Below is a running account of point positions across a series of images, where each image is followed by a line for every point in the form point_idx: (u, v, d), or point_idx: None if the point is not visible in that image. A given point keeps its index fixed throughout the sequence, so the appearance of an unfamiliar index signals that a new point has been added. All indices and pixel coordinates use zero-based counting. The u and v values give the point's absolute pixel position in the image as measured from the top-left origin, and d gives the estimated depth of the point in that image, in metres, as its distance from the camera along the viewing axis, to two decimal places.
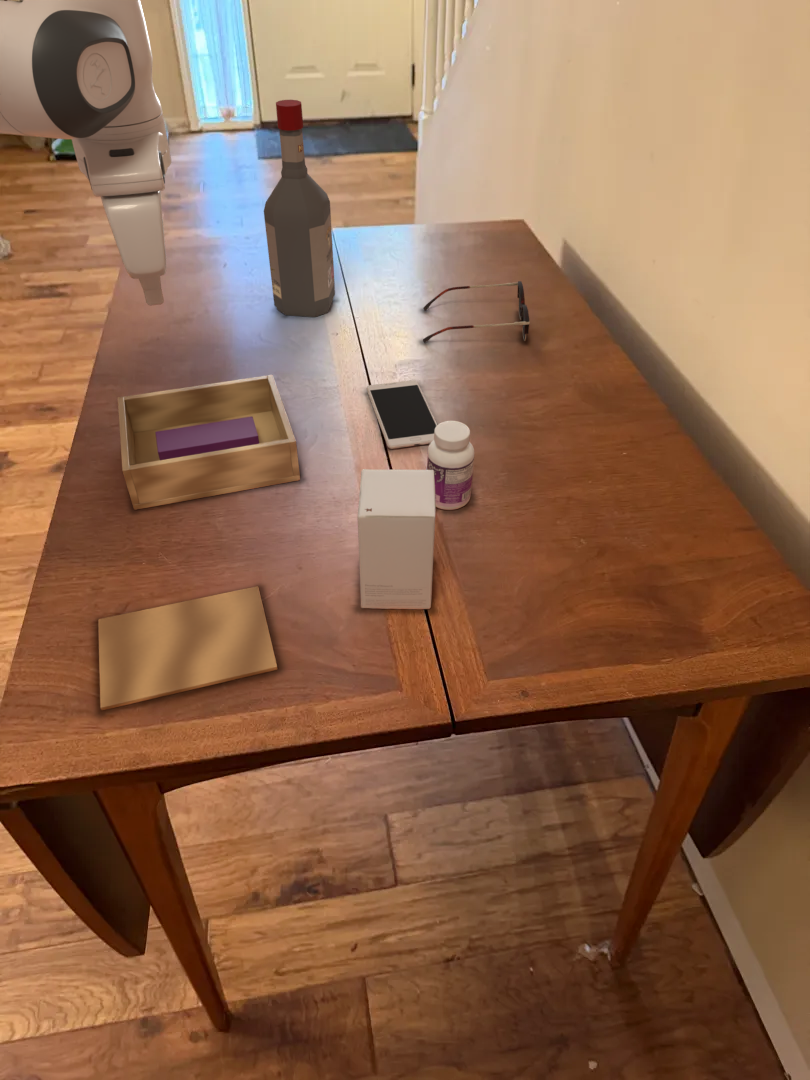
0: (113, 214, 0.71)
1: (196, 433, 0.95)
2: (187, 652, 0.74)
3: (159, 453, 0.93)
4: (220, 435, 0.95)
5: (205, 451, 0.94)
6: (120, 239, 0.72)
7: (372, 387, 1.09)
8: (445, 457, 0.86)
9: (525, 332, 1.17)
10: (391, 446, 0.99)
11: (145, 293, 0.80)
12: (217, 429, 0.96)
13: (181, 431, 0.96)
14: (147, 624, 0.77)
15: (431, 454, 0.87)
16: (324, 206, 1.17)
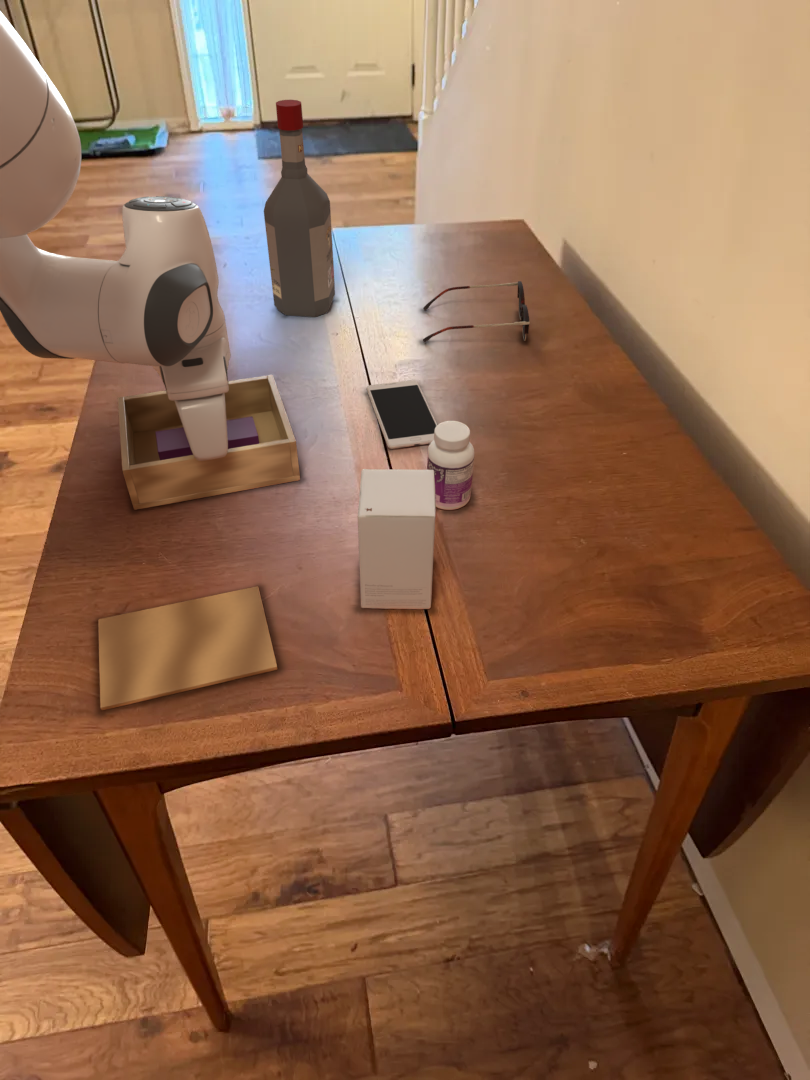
0: (185, 415, 0.82)
1: None
2: (187, 652, 0.74)
3: (159, 453, 0.93)
4: None
5: None
6: (190, 434, 0.83)
7: (371, 387, 1.09)
8: (445, 457, 0.86)
9: (525, 332, 1.17)
10: (391, 446, 0.99)
11: None
12: None
13: (181, 431, 0.96)
14: (147, 624, 0.77)
15: (431, 454, 0.87)
16: (324, 206, 1.17)
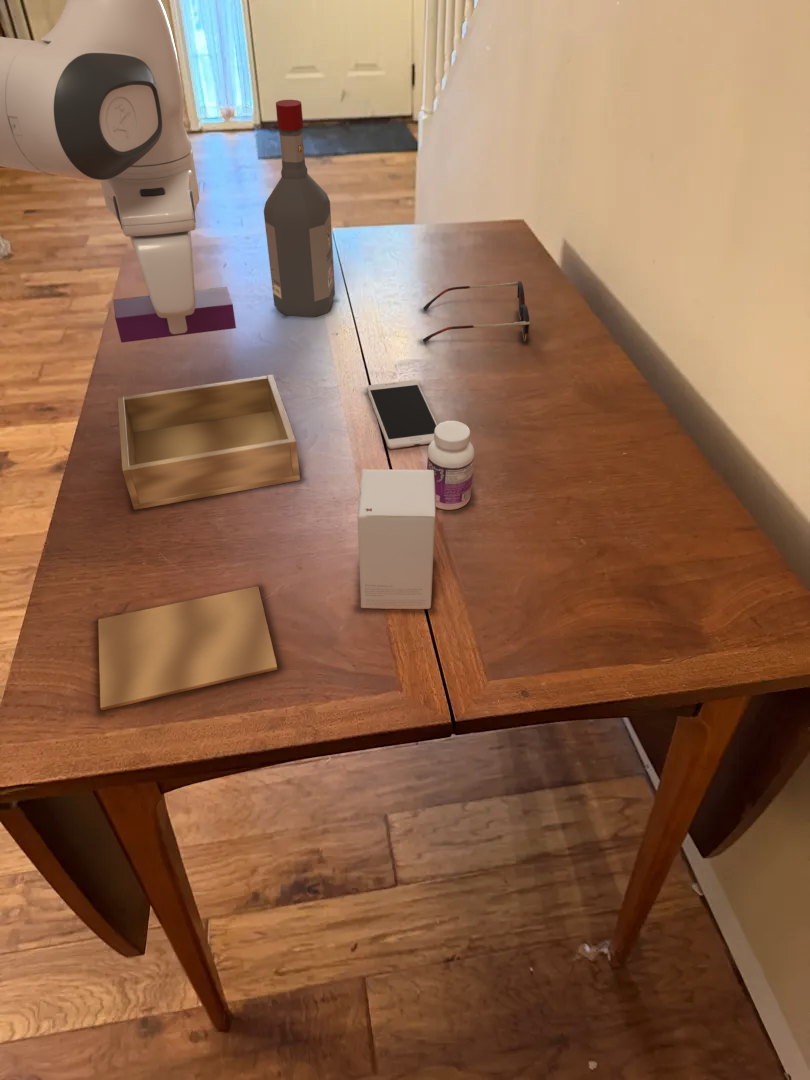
0: (143, 254, 0.69)
1: None
2: (187, 652, 0.74)
3: (117, 319, 0.80)
4: None
5: None
6: (150, 279, 0.71)
7: (371, 387, 1.09)
8: (445, 457, 0.86)
9: (525, 332, 1.17)
10: (391, 446, 0.99)
11: (169, 322, 0.80)
12: None
13: (143, 299, 0.83)
14: (147, 624, 0.77)
15: (431, 454, 0.87)
16: (324, 206, 1.17)
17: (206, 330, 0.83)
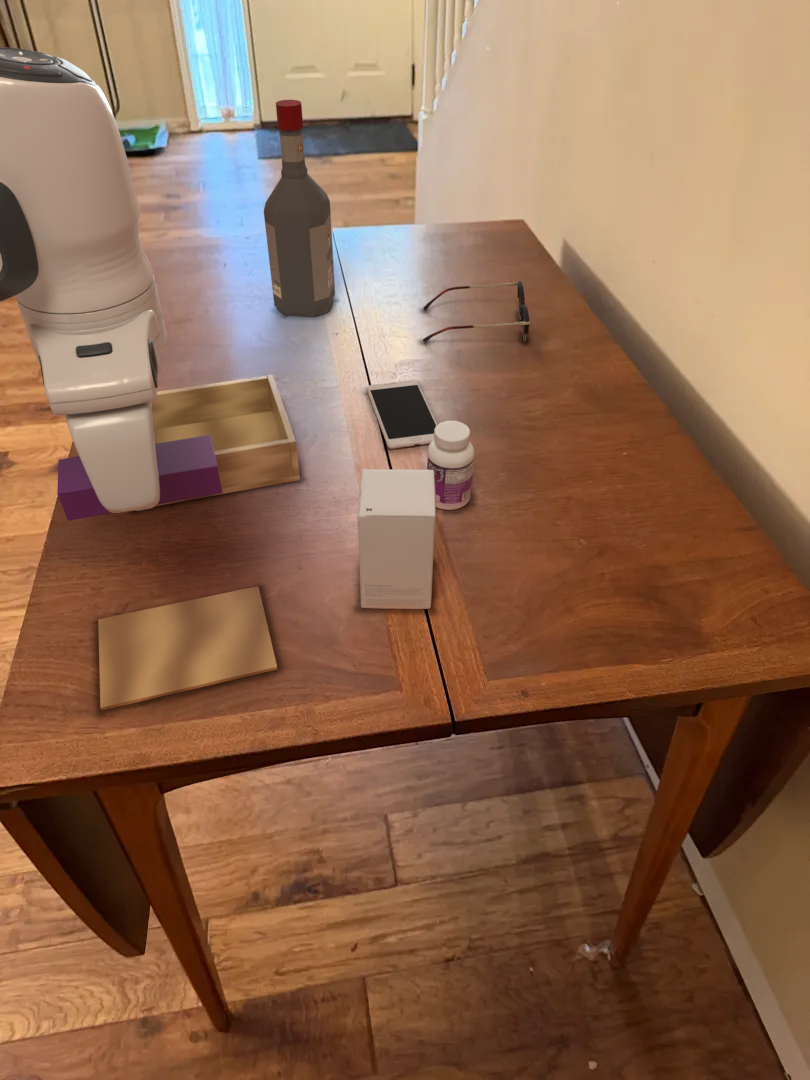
0: (82, 439, 0.49)
1: None
2: (187, 652, 0.74)
3: (59, 495, 0.59)
4: (158, 465, 0.61)
5: None
6: (93, 471, 0.50)
7: (371, 387, 1.09)
8: (445, 457, 0.86)
9: (525, 332, 1.17)
10: (391, 446, 0.99)
11: None
12: None
13: None
14: (147, 624, 0.77)
15: (430, 454, 0.87)
16: (324, 206, 1.17)
17: (182, 498, 0.62)
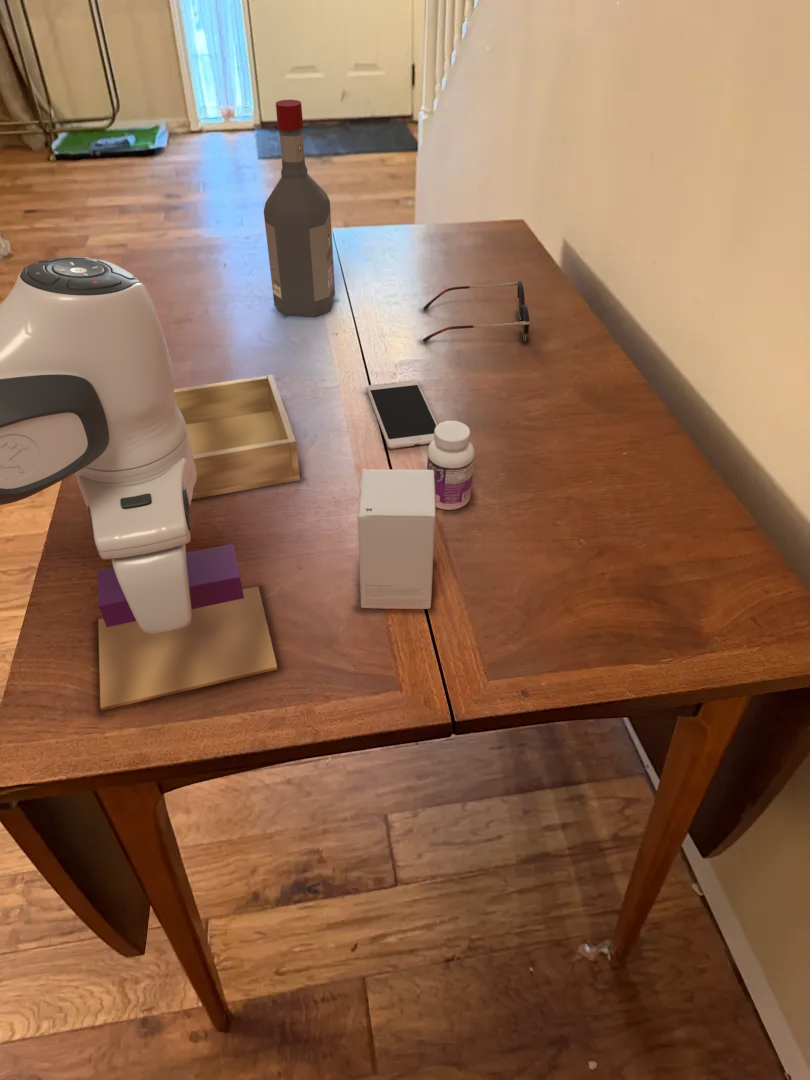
0: (125, 579, 0.56)
1: None
2: (187, 652, 0.74)
3: (100, 607, 0.66)
4: None
5: None
6: (134, 604, 0.57)
7: (372, 387, 1.09)
8: (445, 457, 0.86)
9: (525, 332, 1.17)
10: (391, 446, 0.99)
11: None
12: None
13: None
14: None
15: (431, 454, 0.87)
16: (324, 206, 1.17)
17: (208, 604, 0.70)
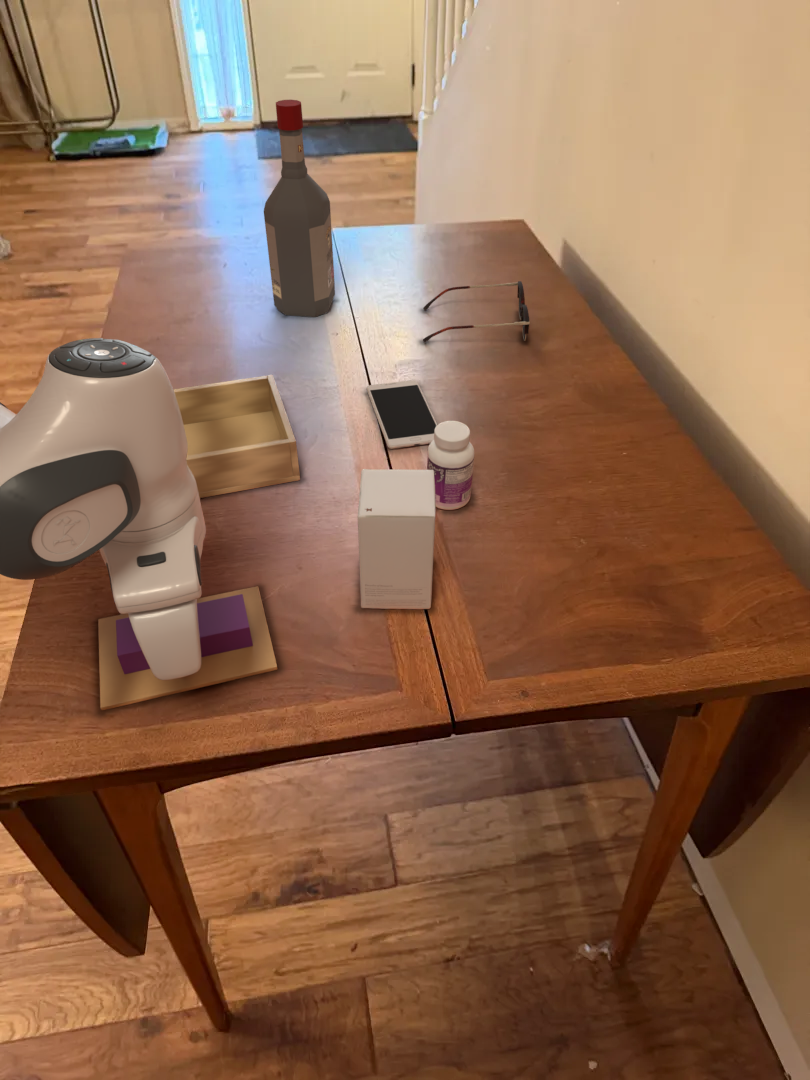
0: (141, 631, 0.60)
1: None
2: None
3: (119, 656, 0.71)
4: (200, 627, 0.73)
5: None
6: (149, 654, 0.61)
7: (371, 387, 1.09)
8: (445, 457, 0.86)
9: (525, 332, 1.17)
10: (391, 446, 0.99)
11: None
12: None
13: None
14: None
15: (430, 454, 0.87)
16: (324, 206, 1.17)
17: (219, 652, 0.74)
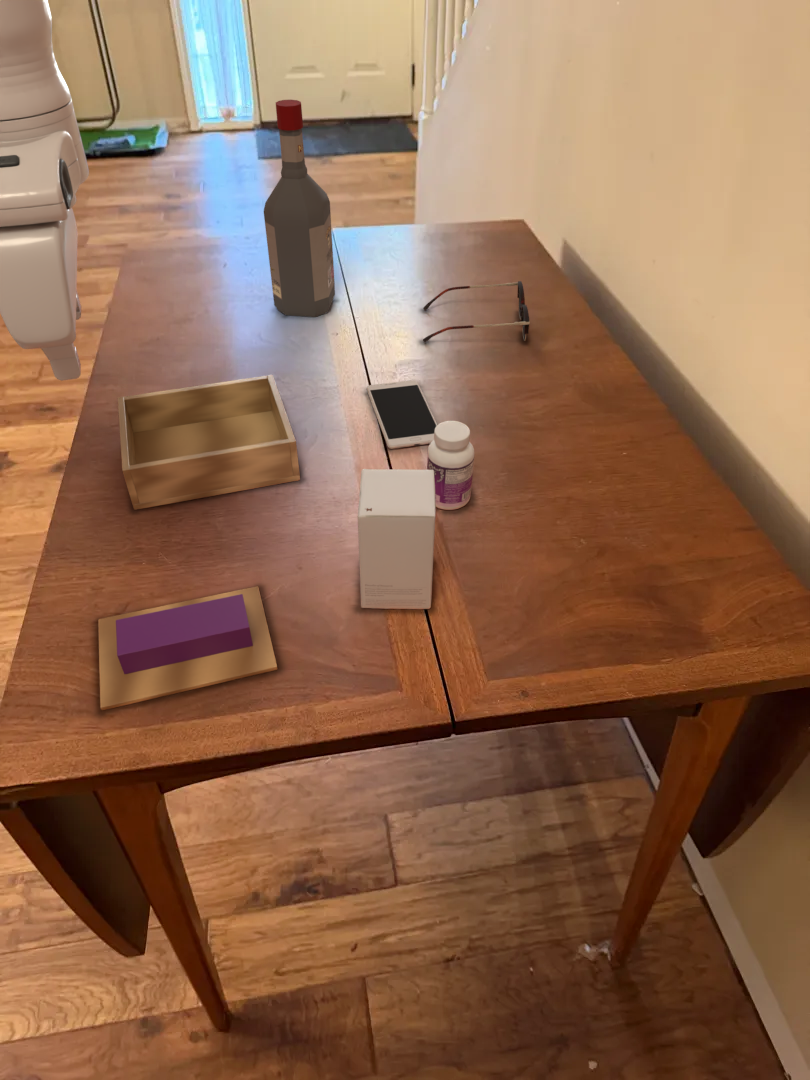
0: None
1: (168, 622, 0.73)
2: None
3: (119, 656, 0.71)
4: (200, 627, 0.73)
5: (180, 649, 0.72)
6: None
7: (371, 387, 1.09)
8: (445, 457, 0.86)
9: (525, 332, 1.17)
10: (391, 446, 0.99)
11: (52, 364, 0.55)
12: (196, 616, 0.74)
13: (149, 619, 0.74)
14: None
15: (431, 454, 0.87)
16: (324, 206, 1.17)
17: (219, 652, 0.74)
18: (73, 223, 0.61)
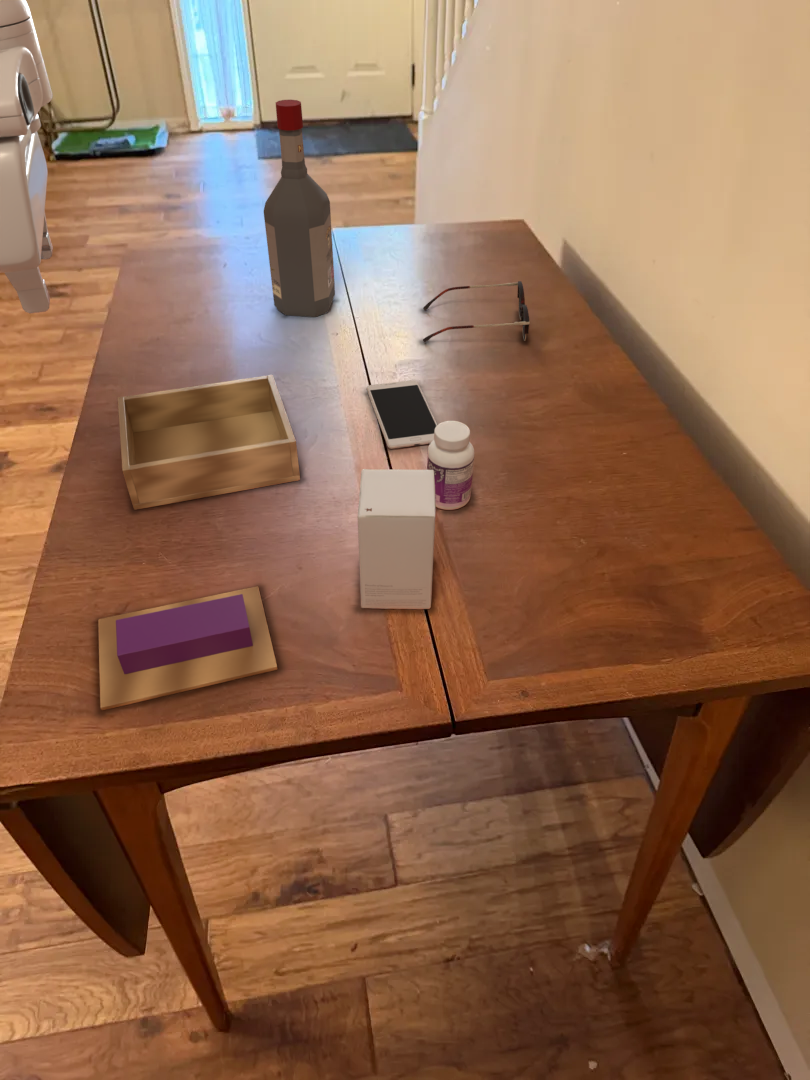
0: None
1: (168, 622, 0.73)
2: None
3: (119, 656, 0.71)
4: (200, 627, 0.73)
5: (180, 649, 0.72)
6: None
7: (371, 387, 1.09)
8: (445, 457, 0.86)
9: (525, 332, 1.17)
10: (391, 446, 0.99)
11: (20, 295, 0.54)
12: (196, 616, 0.74)
13: (149, 619, 0.74)
14: None
15: (431, 454, 0.87)
16: (324, 206, 1.17)
17: (219, 652, 0.74)
18: (42, 159, 0.60)
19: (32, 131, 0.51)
